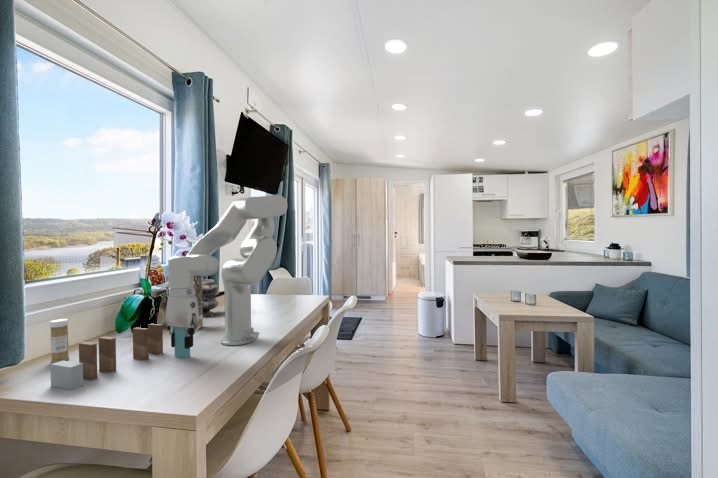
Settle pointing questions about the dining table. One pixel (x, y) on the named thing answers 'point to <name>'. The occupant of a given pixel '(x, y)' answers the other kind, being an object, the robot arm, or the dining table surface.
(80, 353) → the domino
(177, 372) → the dining table surface
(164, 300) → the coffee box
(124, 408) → the dining table surface
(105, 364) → the domino
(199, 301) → the paper tube
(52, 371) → the end block
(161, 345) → the domino
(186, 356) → the domino
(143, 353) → the domino
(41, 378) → the dining table surface
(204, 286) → the stacked stone tower
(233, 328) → the robot arm
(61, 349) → the sprinkles bottle
